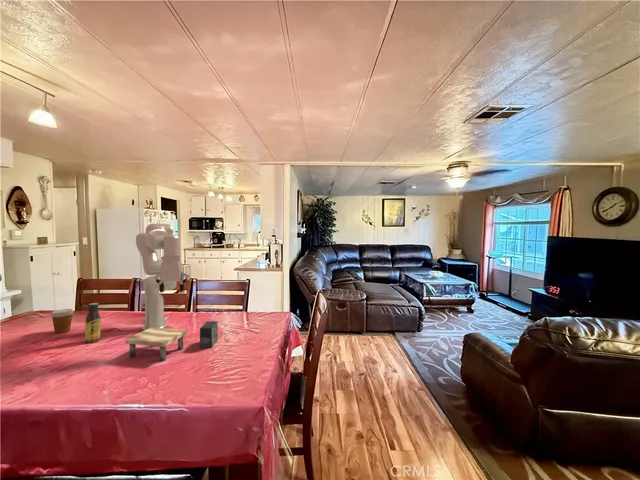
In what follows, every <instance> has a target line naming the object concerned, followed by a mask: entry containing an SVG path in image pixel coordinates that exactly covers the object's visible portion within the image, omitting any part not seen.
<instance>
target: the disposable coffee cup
mask: <svg viewBox="0 0 640 480" xmlns="http://www.w3.org/2000/svg"><path fill="white" fill-rule="evenodd" d="M74 313H75V311H73V309H72V308H64V309H59V310H54V311H52V312H51V314H50V317H52V324H53V329H54V333H55V334H58V335H60V334H65V333H68V332H69V333H70V331H71V325H72V320H73V315H74Z"/></svg>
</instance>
